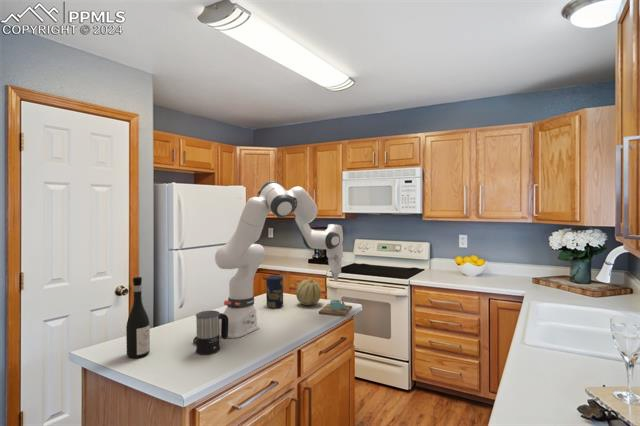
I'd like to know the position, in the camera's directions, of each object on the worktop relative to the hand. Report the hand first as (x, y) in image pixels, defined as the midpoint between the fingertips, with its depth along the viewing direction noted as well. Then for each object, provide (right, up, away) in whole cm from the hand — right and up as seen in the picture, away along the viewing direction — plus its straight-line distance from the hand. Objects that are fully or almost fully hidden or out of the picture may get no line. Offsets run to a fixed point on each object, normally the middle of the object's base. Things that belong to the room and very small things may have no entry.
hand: (334, 279), depth 201 cm
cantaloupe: (-14, -17, +12) cm, 25 cm away
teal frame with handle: (+2, -16, 0) cm, 16 cm away
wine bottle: (-78, -19, -58) cm, 99 cm away
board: (+1, -17, 0) cm, 17 cm away
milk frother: (-55, -19, -51) cm, 77 cm away
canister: (-33, -17, +9) cm, 39 cm away
